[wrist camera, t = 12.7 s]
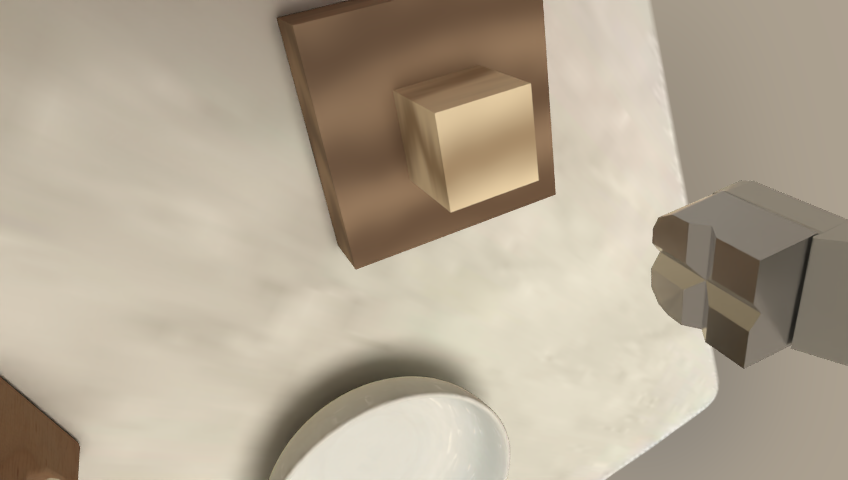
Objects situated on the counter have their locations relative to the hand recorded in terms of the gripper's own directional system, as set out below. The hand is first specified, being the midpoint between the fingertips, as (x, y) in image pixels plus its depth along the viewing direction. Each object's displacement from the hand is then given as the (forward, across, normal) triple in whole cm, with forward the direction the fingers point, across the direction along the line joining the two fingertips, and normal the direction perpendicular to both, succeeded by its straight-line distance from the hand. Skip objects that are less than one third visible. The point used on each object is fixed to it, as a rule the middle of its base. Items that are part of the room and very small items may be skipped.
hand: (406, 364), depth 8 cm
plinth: (+33, -14, +10) cm, 37 cm away
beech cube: (+29, -14, +10) cm, 34 cm away
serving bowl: (+33, -4, +38) cm, 50 cm away
